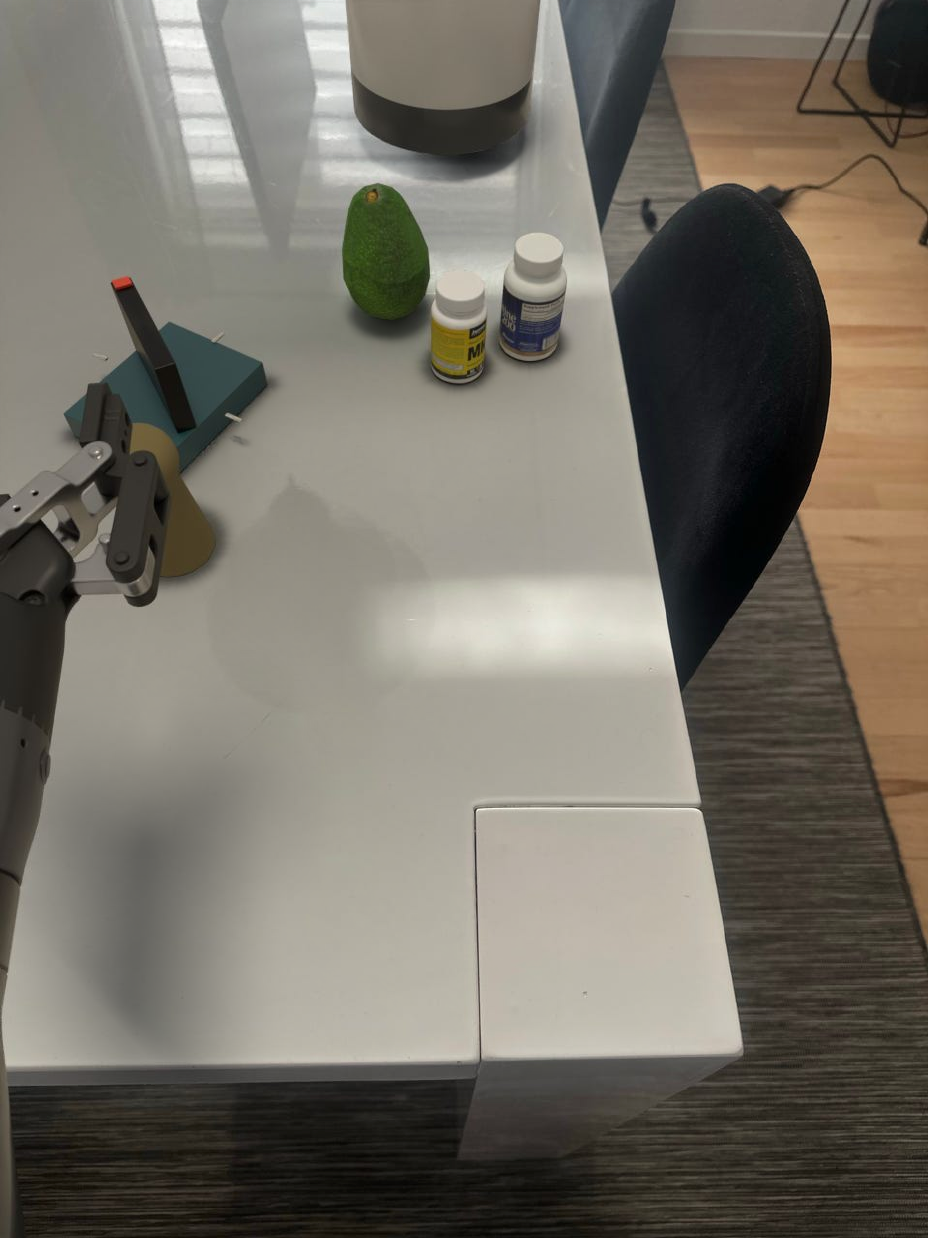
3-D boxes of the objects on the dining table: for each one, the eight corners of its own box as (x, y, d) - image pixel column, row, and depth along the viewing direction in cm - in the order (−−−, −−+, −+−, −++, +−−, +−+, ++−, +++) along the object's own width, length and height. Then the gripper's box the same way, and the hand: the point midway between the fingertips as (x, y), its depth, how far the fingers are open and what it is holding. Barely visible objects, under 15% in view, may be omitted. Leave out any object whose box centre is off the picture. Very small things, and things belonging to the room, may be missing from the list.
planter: (537, 100, 98) (556, -87, 83) (514, 193, 88) (530, 0, 73) (377, 80, 99) (367, -107, 84) (336, 170, 89) (317, -25, 74)
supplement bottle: (473, 391, 73) (477, 310, 65) (422, 376, 73) (421, 295, 66) (491, 356, 75) (497, 274, 68) (442, 342, 76) (443, 260, 69)
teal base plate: (187, 505, 65) (178, 483, 63) (40, 432, 69) (27, 408, 66) (300, 387, 72) (295, 363, 70) (161, 326, 76) (153, 302, 73)
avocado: (340, 291, 79) (326, 166, 69) (420, 280, 80) (418, 156, 70) (355, 347, 75) (343, 224, 65) (440, 334, 76) (440, 211, 66)
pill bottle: (494, 324, 77) (502, 227, 69) (551, 322, 78) (565, 225, 69) (502, 364, 74) (511, 268, 66) (561, 361, 75) (577, 266, 67)
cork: (175, 500, 65) (132, 395, 56) (232, 537, 64) (197, 435, 54) (116, 550, 63) (61, 448, 53) (174, 590, 61) (127, 492, 51)
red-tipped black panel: (197, 427, 66) (174, 360, 60) (177, 433, 65) (153, 367, 60) (153, 342, 71) (129, 273, 65) (135, 348, 70) (108, 279, 65)
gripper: (107, 678, 25) (147, 322, 34) (-403, 723, 24) (-230, 341, 32) (172, 768, 32) (192, 451, 40) (-227, 808, 30) (-121, 471, 39)
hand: (4, 402), depth 36 cm, fingers open, 8 cm apart
